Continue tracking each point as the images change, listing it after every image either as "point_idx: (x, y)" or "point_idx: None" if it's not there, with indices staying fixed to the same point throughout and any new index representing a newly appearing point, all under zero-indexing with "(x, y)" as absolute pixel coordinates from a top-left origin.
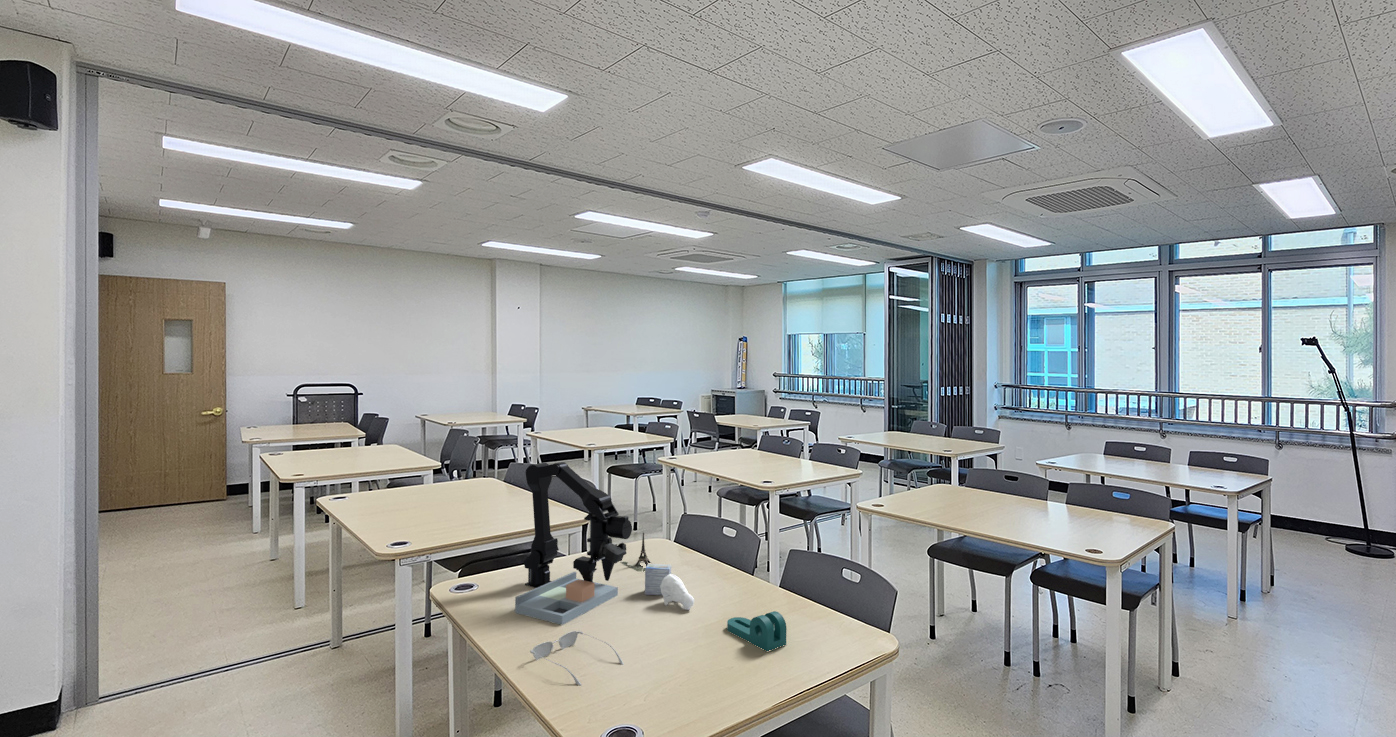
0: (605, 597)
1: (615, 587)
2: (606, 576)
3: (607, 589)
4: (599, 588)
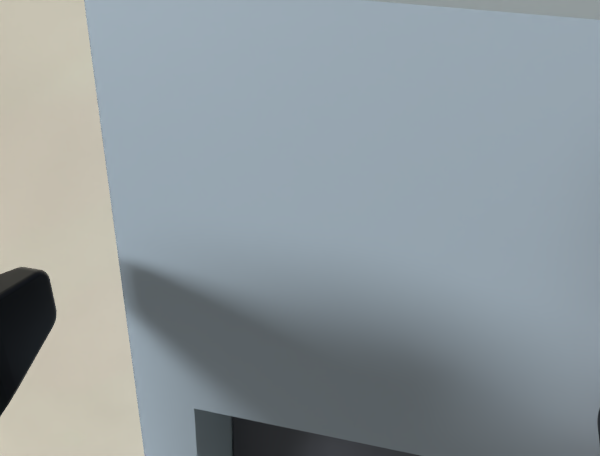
0: (561, 2)
1: (120, 18)
2: (2, 353)
3: (307, 116)
4: (333, 277)
